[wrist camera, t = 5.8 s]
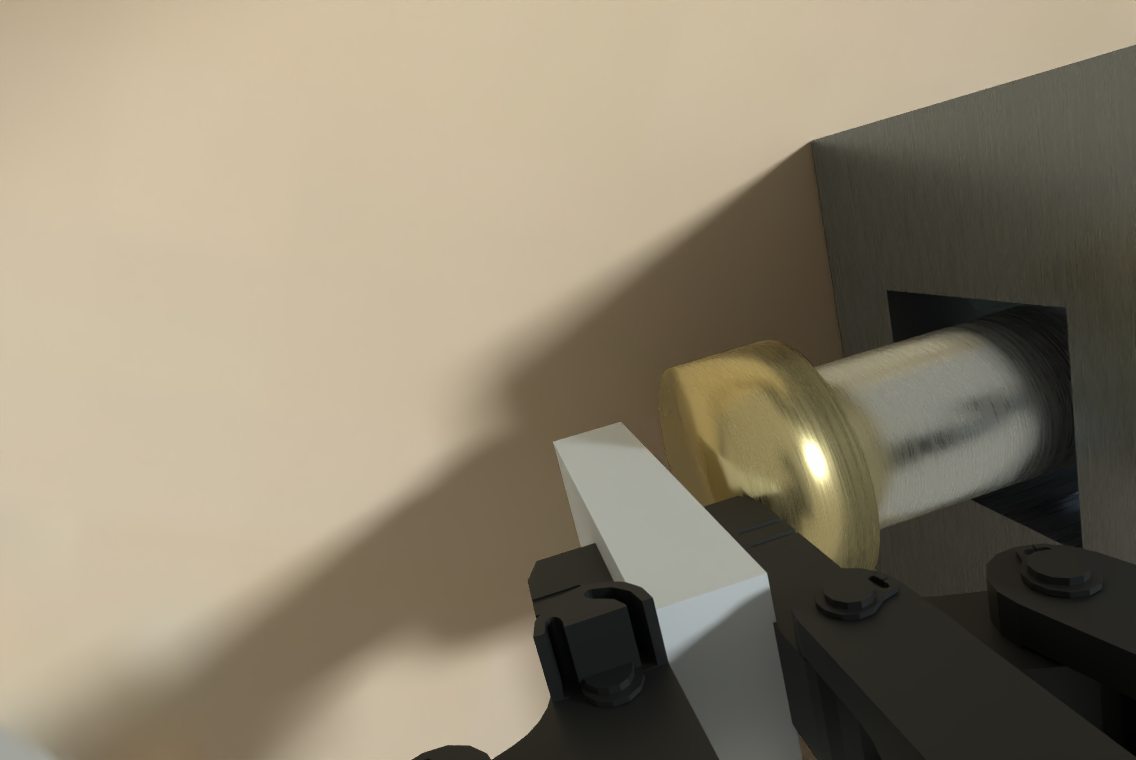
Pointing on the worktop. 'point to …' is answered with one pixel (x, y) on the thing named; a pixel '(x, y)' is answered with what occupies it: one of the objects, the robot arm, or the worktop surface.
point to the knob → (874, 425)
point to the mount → (1002, 285)
